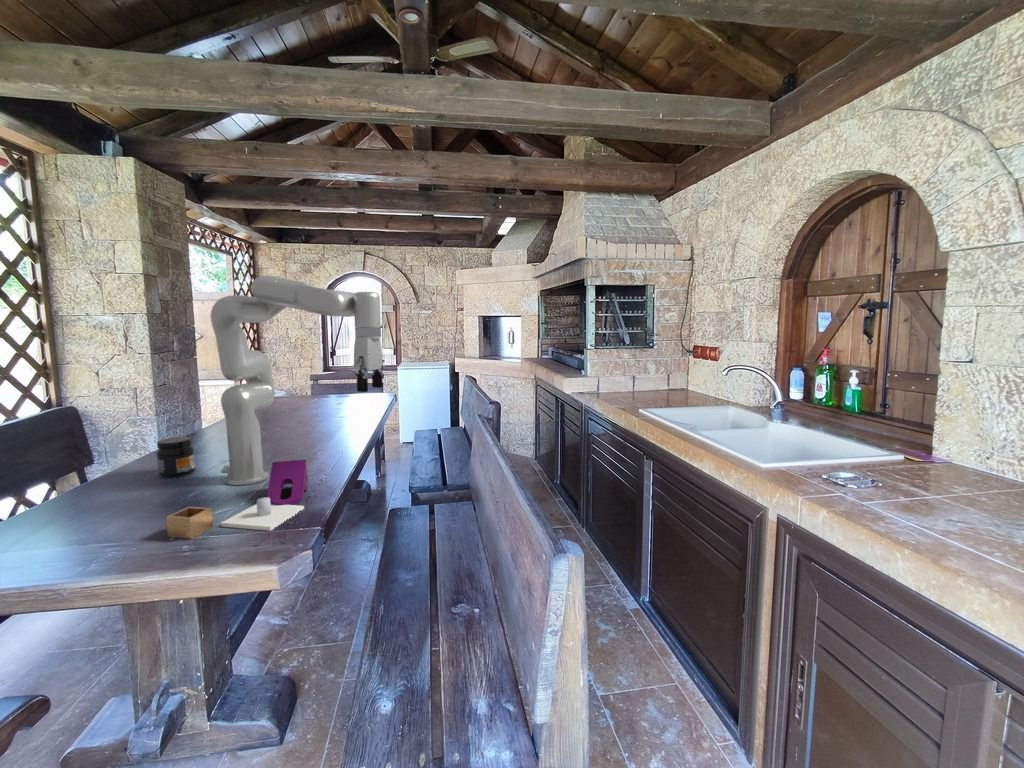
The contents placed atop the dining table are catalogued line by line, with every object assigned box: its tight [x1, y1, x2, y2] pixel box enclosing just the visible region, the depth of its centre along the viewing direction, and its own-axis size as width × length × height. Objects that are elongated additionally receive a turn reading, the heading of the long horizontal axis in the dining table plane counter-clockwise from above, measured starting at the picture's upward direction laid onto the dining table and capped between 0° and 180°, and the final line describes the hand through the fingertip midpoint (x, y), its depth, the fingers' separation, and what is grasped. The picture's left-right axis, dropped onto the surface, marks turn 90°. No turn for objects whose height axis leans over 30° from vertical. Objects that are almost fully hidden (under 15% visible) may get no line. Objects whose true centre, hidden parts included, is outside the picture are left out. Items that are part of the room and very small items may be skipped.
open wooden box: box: [165, 506, 214, 539], centre depth 118 cm, size 7×7×5 cm
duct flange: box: [220, 496, 305, 532], centre depth 127 cm, size 14×14×5 cm
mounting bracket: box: [267, 458, 309, 505], centre depth 142 cm, size 9×8×18 cm
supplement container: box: [155, 436, 196, 479], centre depth 163 cm, size 10×10×12 cm
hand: (370, 389), depth 146 cm, fingers open, 9 cm apart
